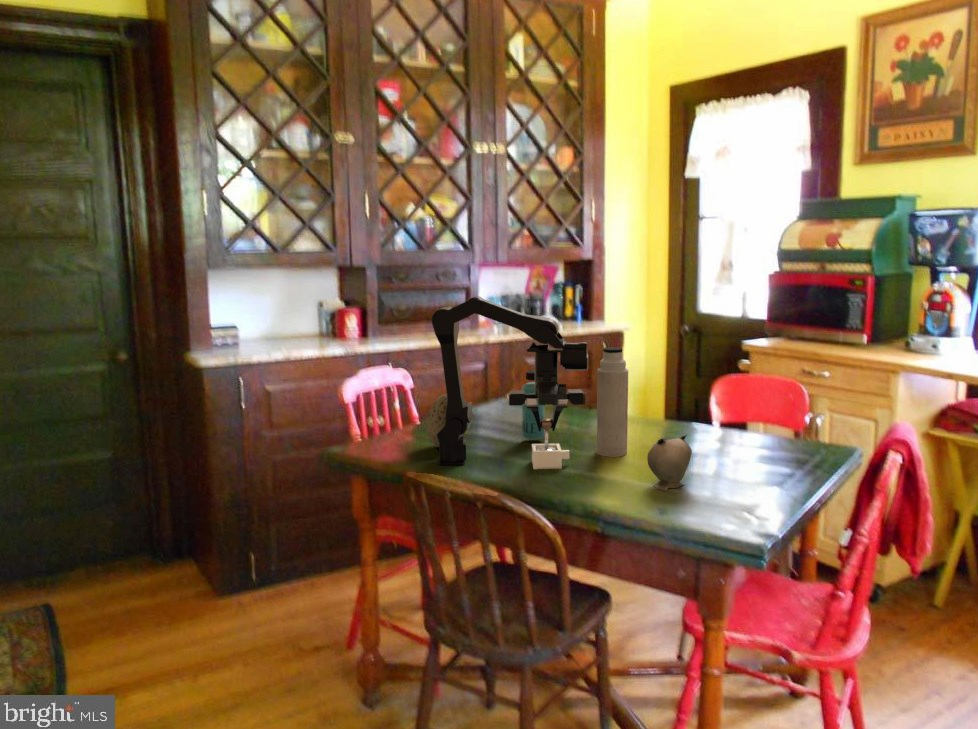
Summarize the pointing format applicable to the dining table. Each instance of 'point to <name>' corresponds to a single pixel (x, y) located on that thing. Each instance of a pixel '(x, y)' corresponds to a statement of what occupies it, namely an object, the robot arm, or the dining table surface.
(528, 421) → the beverage bottle
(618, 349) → the thermos bottle
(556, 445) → the square box with handle
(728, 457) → the dining table surface
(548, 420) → the brown stemmed glass
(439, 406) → the decorative egg
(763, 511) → the dining table surface
